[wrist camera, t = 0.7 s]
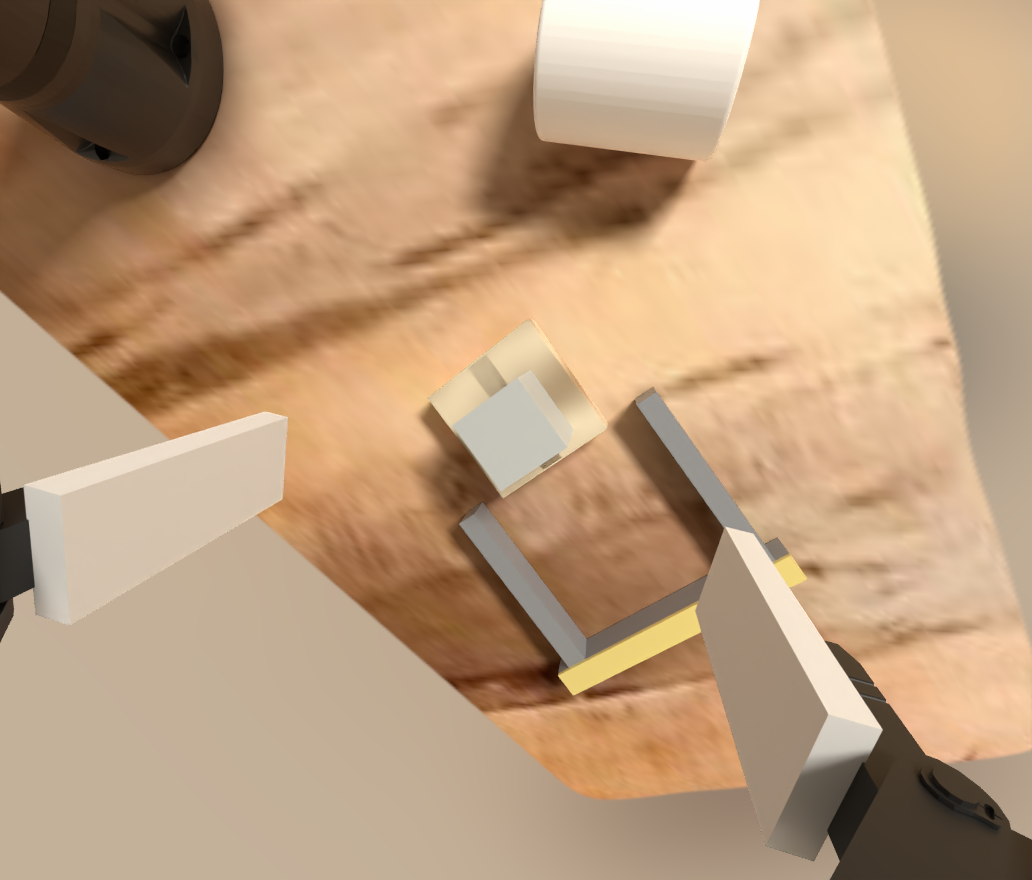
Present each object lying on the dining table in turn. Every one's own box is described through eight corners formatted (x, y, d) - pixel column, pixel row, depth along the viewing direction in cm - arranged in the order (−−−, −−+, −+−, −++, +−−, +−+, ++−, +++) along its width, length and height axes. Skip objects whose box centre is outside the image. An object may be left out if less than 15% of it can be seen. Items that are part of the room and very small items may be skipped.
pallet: (441, 392, 38) (427, 398, 35) (534, 319, 36) (527, 319, 33) (511, 485, 39) (503, 498, 36) (607, 420, 36) (607, 428, 33)
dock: (458, 518, 40) (447, 532, 37) (665, 378, 34) (670, 383, 32) (575, 671, 41) (573, 695, 38) (792, 559, 36) (807, 579, 33)
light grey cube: (474, 411, 35) (451, 425, 30) (530, 369, 33) (517, 377, 29) (515, 468, 35) (500, 491, 30) (573, 429, 34) (567, 447, 29)
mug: (699, 178, 31) (728, 133, 24) (544, 158, 33) (524, 109, 25) (755, -53, 28) (809, -192, 20) (581, -65, 29) (570, -200, 22)
